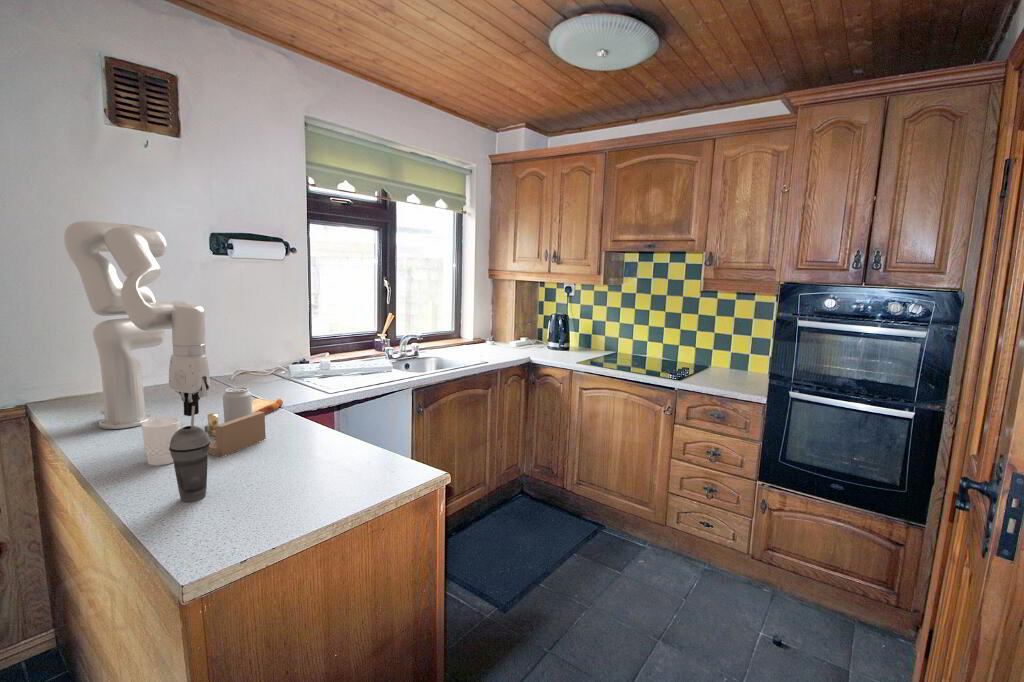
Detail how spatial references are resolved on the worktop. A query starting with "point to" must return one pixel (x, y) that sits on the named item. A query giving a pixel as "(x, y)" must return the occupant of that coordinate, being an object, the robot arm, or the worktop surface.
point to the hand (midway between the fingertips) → (191, 414)
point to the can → (237, 403)
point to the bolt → (212, 423)
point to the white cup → (159, 439)
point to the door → (235, 433)
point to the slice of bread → (265, 405)
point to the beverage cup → (190, 461)
